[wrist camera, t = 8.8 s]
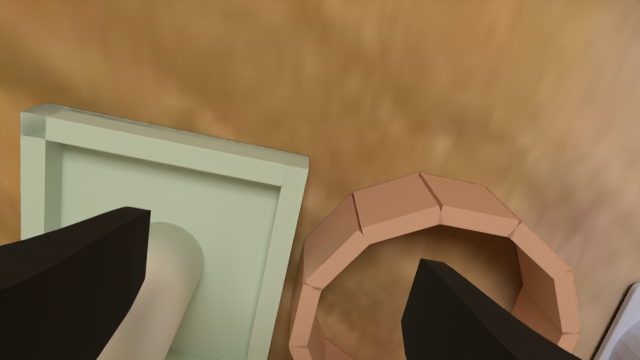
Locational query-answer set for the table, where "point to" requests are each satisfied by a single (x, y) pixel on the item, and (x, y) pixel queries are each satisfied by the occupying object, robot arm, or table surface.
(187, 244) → the peg
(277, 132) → the table surface
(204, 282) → the tray
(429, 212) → the segmented salmon ring
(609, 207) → the table surface
